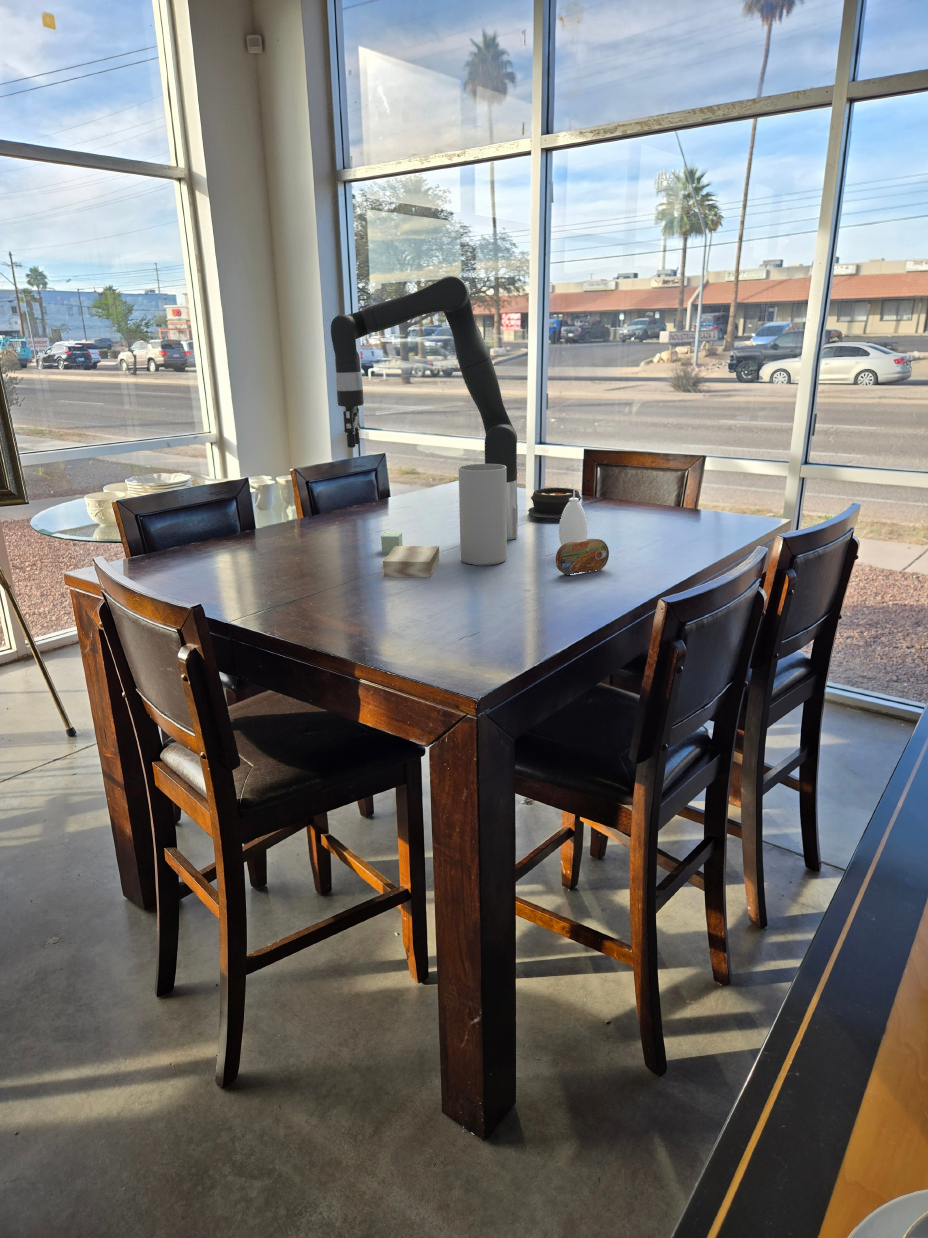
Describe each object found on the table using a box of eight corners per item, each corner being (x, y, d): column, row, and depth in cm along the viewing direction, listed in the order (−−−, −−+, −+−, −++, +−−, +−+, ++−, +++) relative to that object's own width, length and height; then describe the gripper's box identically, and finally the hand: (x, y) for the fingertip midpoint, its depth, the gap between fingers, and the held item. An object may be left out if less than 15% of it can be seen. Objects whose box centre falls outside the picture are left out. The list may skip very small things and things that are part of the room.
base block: (439, 560, 216) (438, 546, 215) (430, 576, 201) (429, 561, 200) (395, 560, 217) (395, 545, 216) (383, 576, 202) (382, 561, 201)
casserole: (568, 525, 254) (568, 499, 251) (515, 520, 262) (515, 495, 260) (594, 511, 275) (595, 486, 272) (544, 507, 283) (544, 483, 281)
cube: (402, 549, 229) (401, 532, 228) (399, 553, 224) (398, 536, 223) (385, 549, 230) (384, 532, 228) (382, 553, 225) (381, 536, 223)
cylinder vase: (483, 552, 224) (482, 462, 216) (516, 559, 215) (516, 466, 207) (451, 560, 216) (448, 467, 207) (484, 568, 207) (482, 472, 199)
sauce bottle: (586, 557, 216) (588, 491, 210) (557, 556, 217) (558, 490, 212) (587, 550, 223) (589, 486, 217) (559, 549, 225) (560, 485, 219)
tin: (560, 578, 198) (560, 545, 195) (553, 575, 200) (553, 542, 198) (609, 569, 204) (610, 537, 201) (601, 566, 207) (602, 535, 204)
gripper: (359, 389, 223) (363, 448, 228) (365, 386, 236) (369, 442, 242) (332, 390, 223) (337, 449, 228) (340, 387, 236) (344, 443, 242)
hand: (353, 445), depth 235 cm, fingers open, 8 cm apart
